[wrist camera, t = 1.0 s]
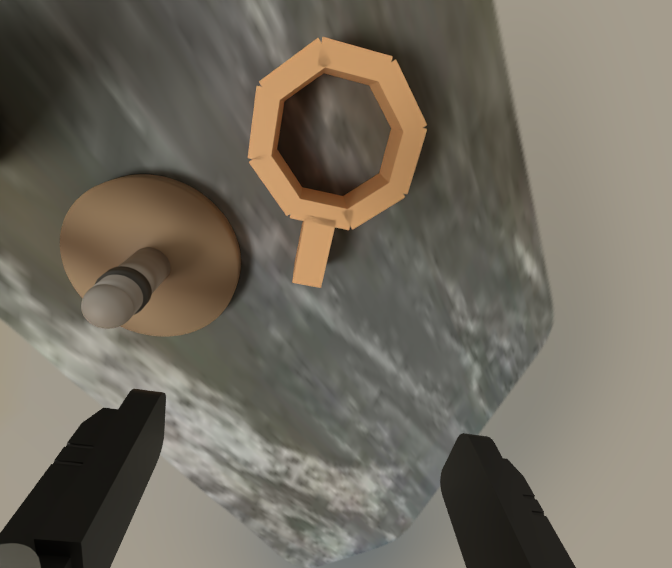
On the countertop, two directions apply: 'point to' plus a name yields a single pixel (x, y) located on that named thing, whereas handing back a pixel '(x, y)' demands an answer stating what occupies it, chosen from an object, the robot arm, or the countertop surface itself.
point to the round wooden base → (150, 256)
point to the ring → (369, 197)
